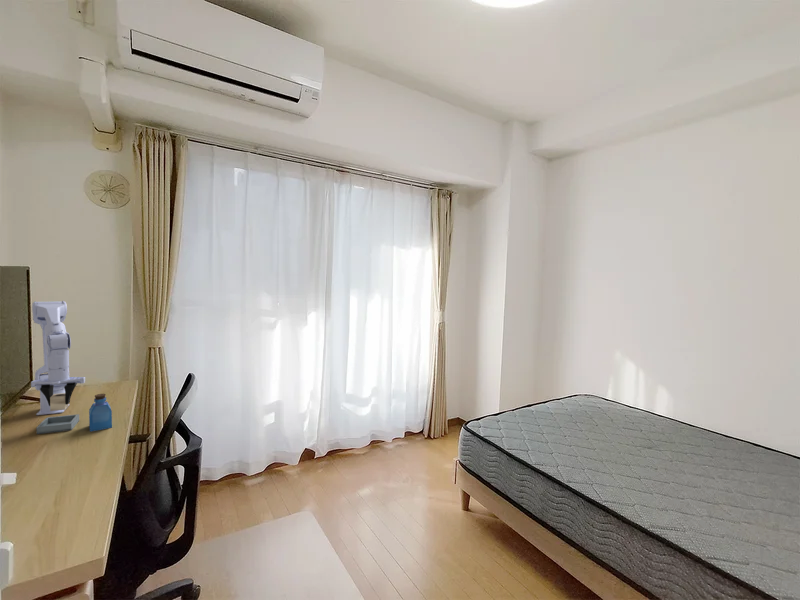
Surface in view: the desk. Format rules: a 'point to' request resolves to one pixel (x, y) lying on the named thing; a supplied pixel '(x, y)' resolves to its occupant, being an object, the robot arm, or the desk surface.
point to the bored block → (58, 402)
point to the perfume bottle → (100, 414)
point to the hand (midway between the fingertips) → (59, 404)
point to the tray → (58, 424)
